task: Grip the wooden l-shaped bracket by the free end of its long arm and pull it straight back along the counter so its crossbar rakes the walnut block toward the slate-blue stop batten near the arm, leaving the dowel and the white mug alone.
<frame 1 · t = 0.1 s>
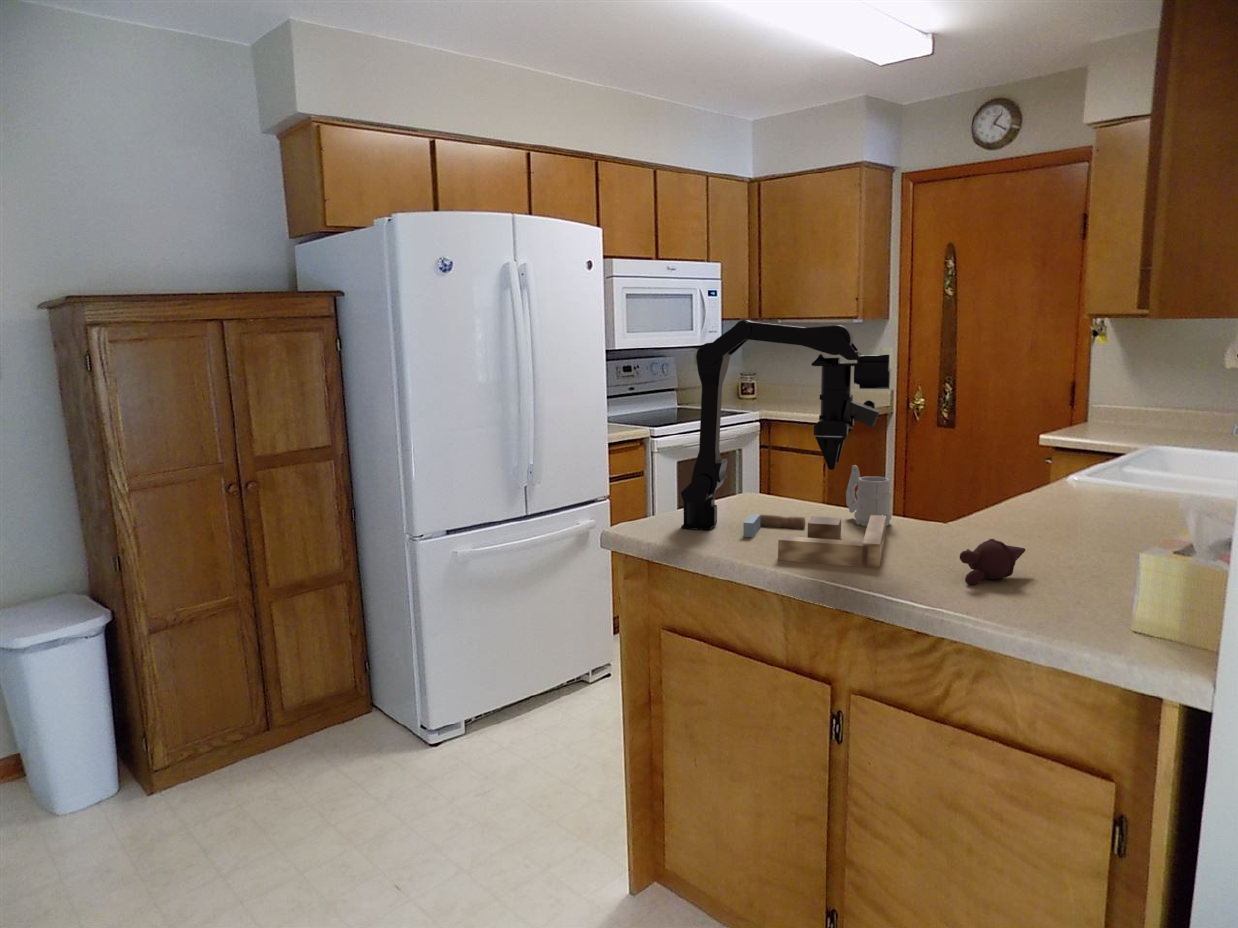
hand: (833, 465, 164), 15 cm above the worktop, fingers open, 9 cm apart
wooden l-shaped bracket: (787, 558, 152), on the worktop
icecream: (992, 579, 138), on the worktop
block: (824, 539, 165), on the worktop
stop batten: (752, 532, 171), on the worktop
dowel: (781, 527, 176), on the worktop
mug: (865, 522, 178), on the worktop
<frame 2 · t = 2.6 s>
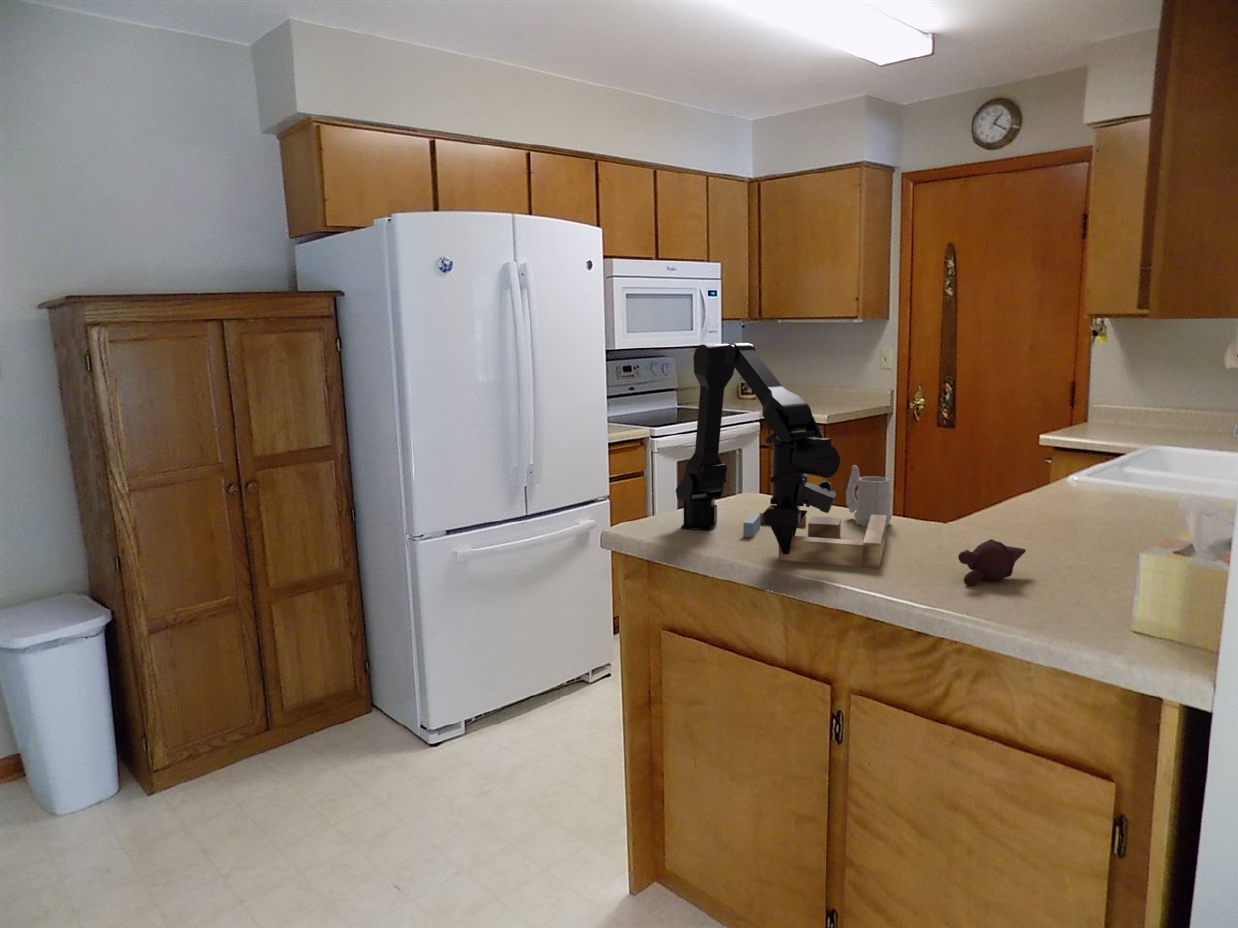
hand: (787, 551, 152), 1 cm above the worktop, fingers closed on wooden l-shaped bracket, 3 cm apart
wooden l-shaped bracket: (787, 558, 152), on the worktop, touching gripper
dowel: (781, 522, 176), point 1 cm above the worktop, tilted 81°
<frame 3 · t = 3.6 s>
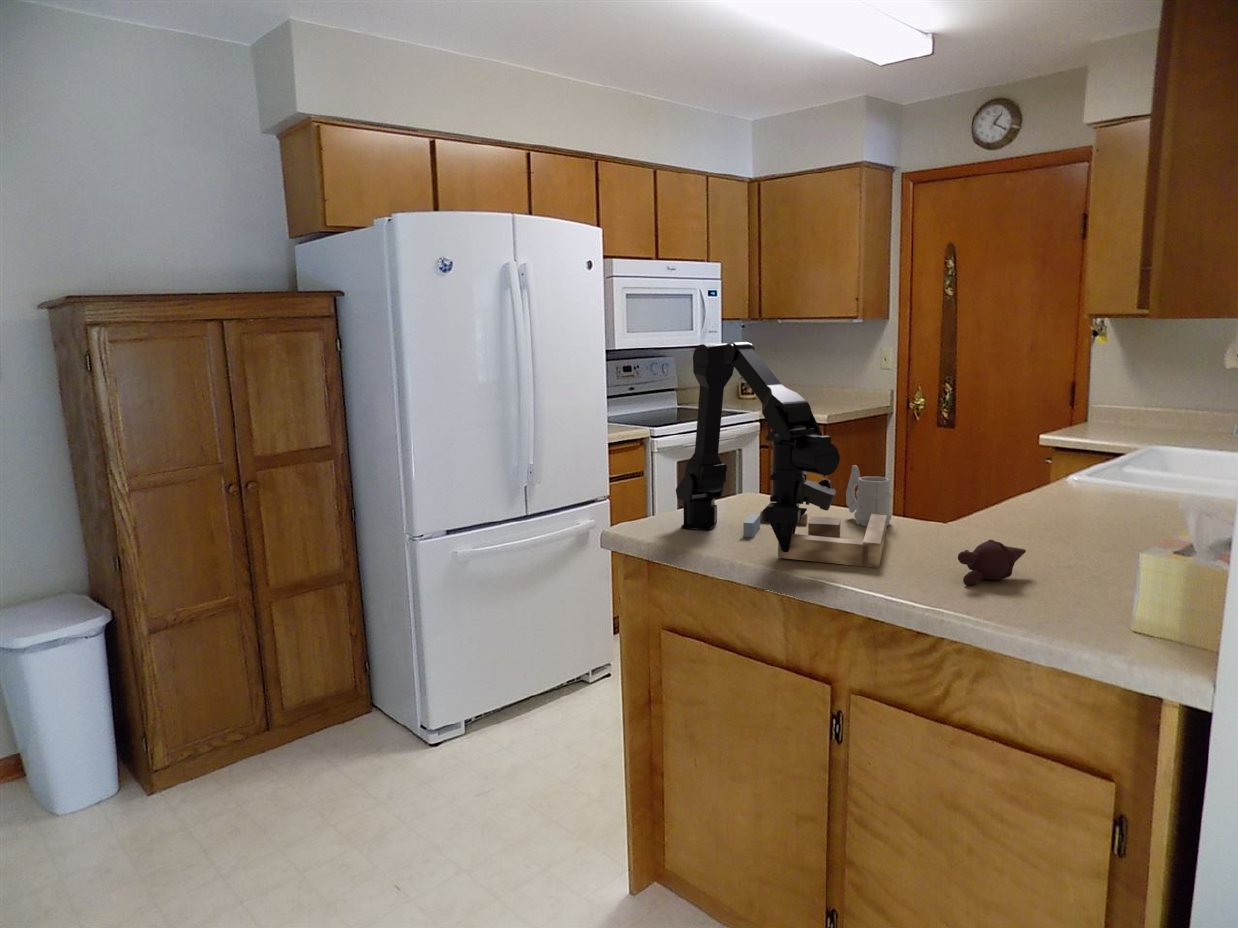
hand: (787, 549, 151), 2 cm above the worktop, fingers closed on wooden l-shaped bracket, 3 cm apart
wooden l-shaped bracket: (787, 556, 152), on the worktop, touching gripper
dowel: (783, 513, 178), point 2 cm above the worktop, tilted 167°
everything else where it was.
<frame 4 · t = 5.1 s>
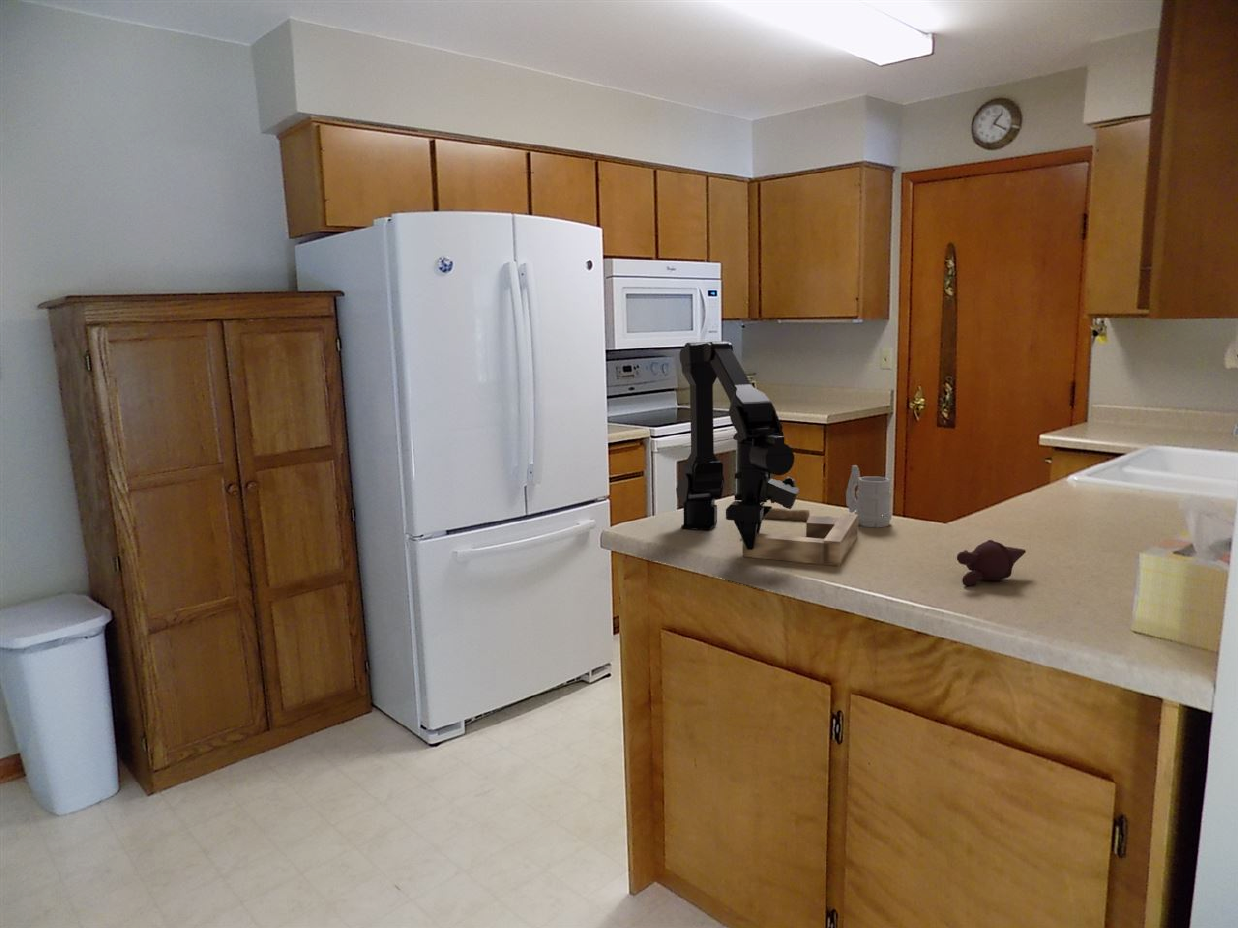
hand: (751, 547, 154), 2 cm above the worktop, fingers closed on wooden l-shaped bracket, 3 cm apart
wooden l-shaped bracket: (752, 555, 154), on the worktop, touching gripper
dowel: (786, 519, 182), on the worktop
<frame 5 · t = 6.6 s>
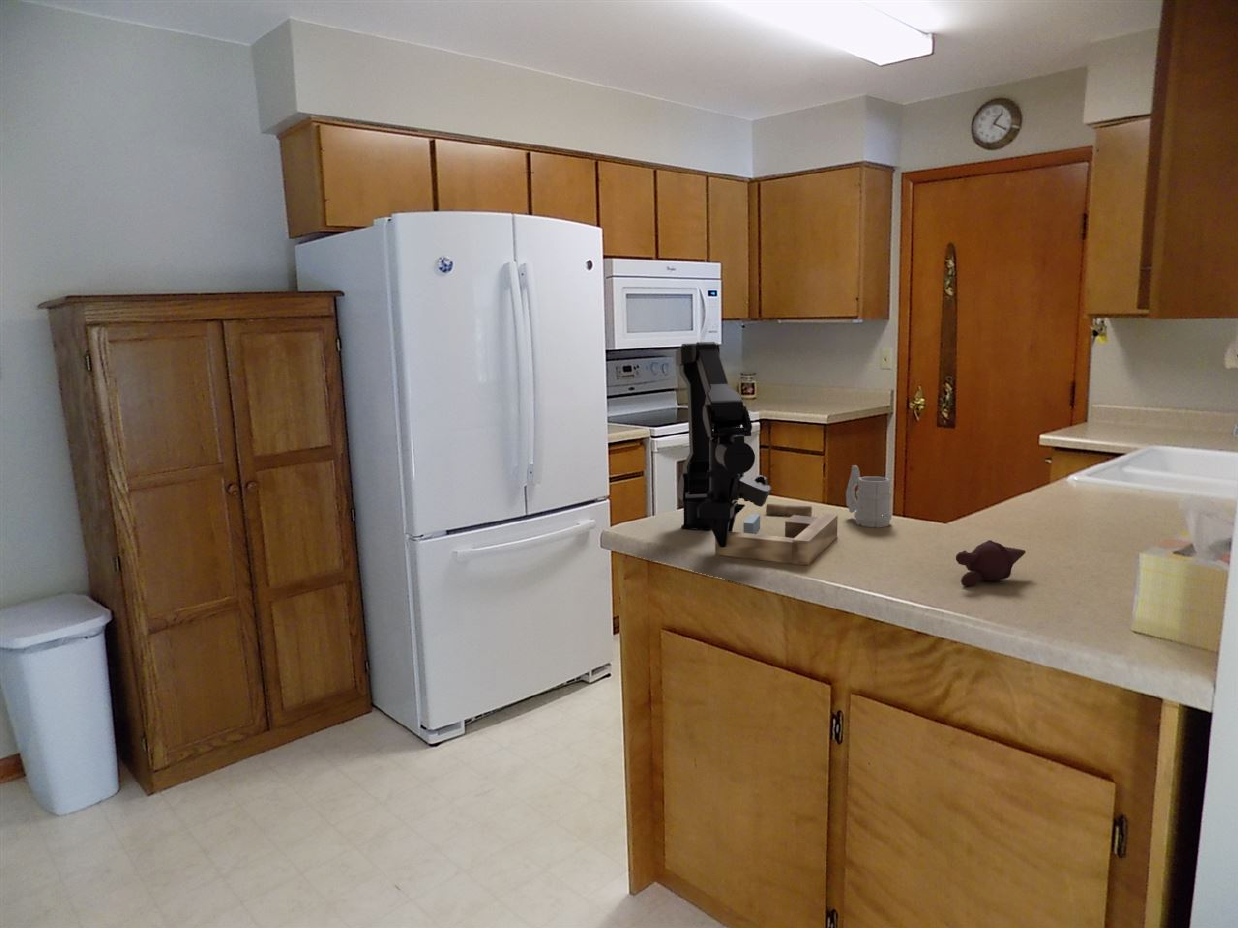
hand: (724, 544, 156), 2 cm above the worktop, fingers closed on wooden l-shaped bracket, 3 cm apart
wooden l-shaped bracket: (725, 553, 156), on the worktop, touching gripper
block: (803, 538, 166), on the worktop
dowel: (789, 505, 186), point 2 cm above the worktop, tilted 160°
when the fingers open (3 cm above the worktop, at t = 7.5 s): wooden l-shaped bracket drops 2 cm, on the worktop.
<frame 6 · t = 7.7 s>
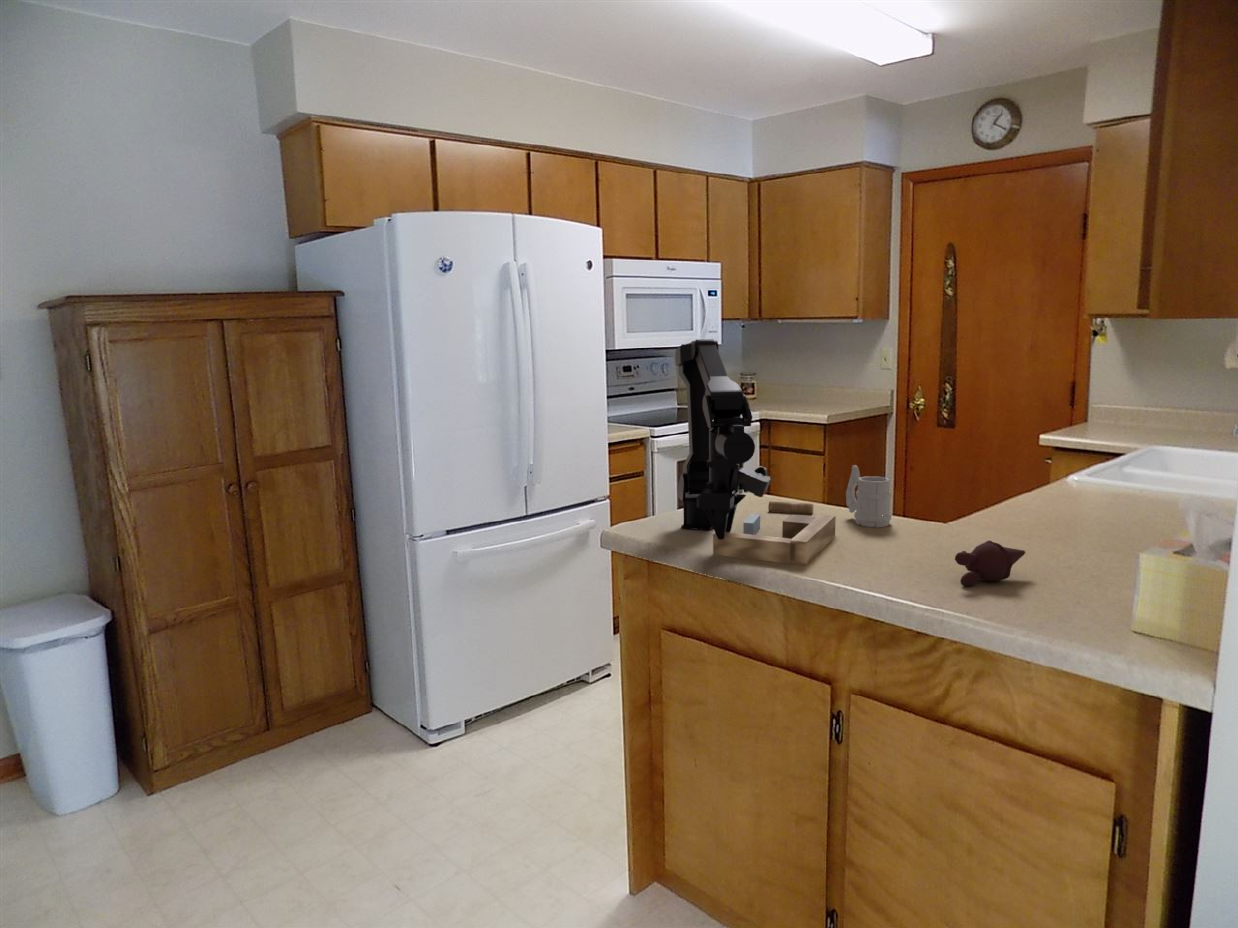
hand: (724, 535, 155), 3 cm above the worktop, fingers open, 5 cm apart
wooden l-shaped bracket: (723, 553, 156), on the worktop
dowel: (791, 512, 189), on the worktop, tilted 14°
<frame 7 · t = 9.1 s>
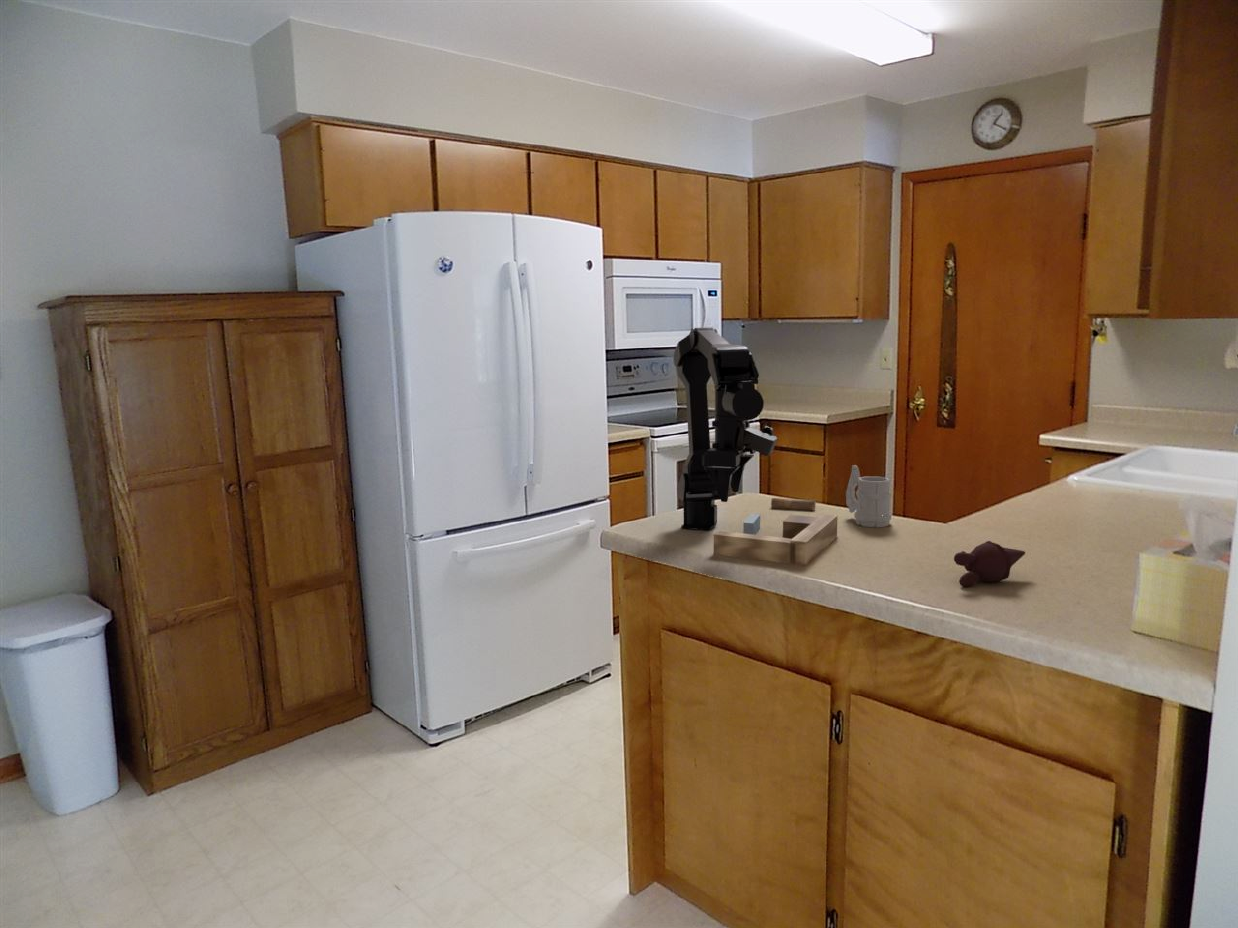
hand: (730, 496, 153), 11 cm above the worktop, fingers open, 9 cm apart
dowel: (793, 499, 191), point 2 cm above the worktop, tilted 180°
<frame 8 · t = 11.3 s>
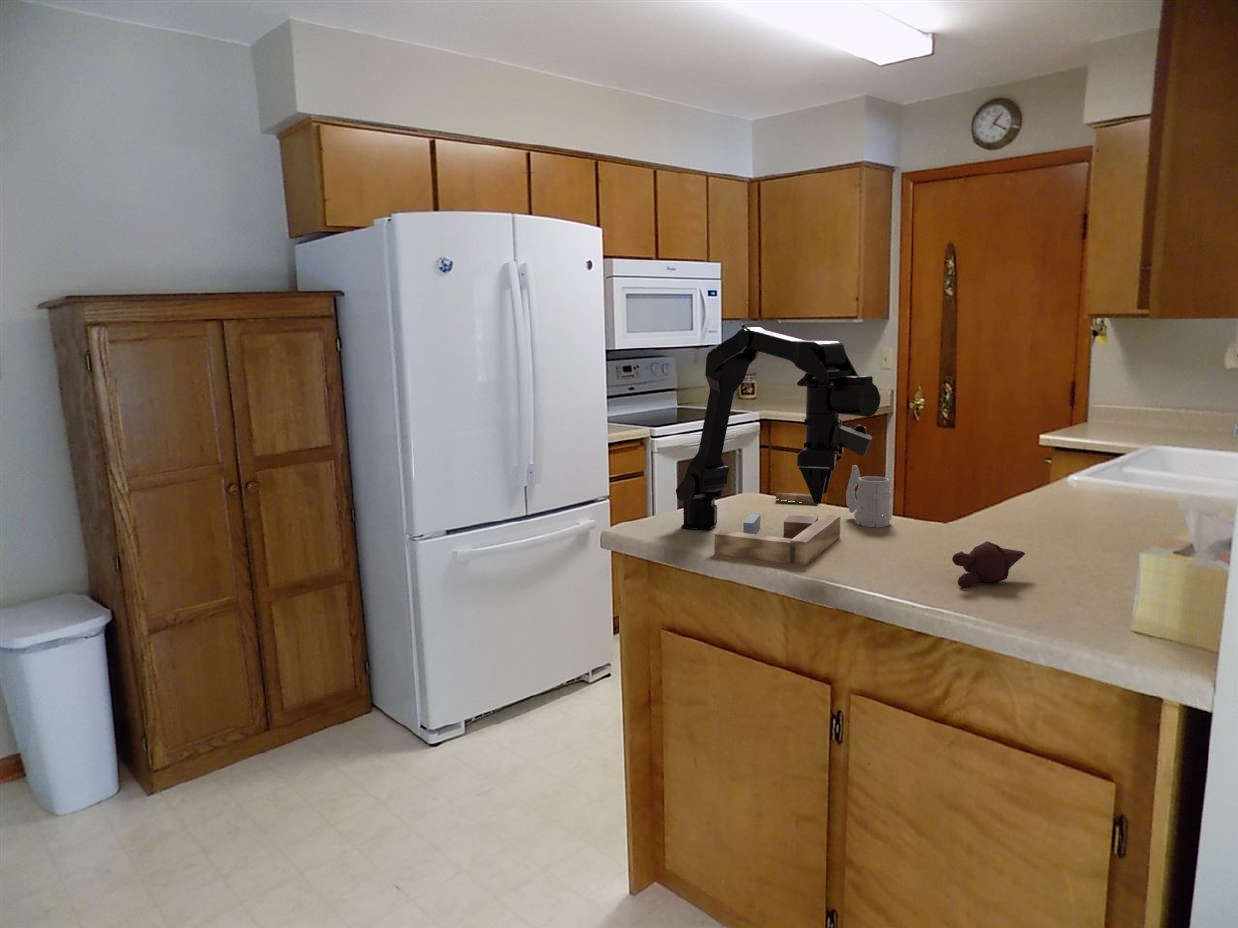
hand: (820, 498, 147), 12 cm above the worktop, fingers open, 9 cm apart
dowel: (796, 495, 197), point 2 cm above the worktop, tilted 149°
at the end: block inside the target area (2.3 cm from its centre), on the worktop; block moved 4.7 cm from its start; block tilted 0° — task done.
